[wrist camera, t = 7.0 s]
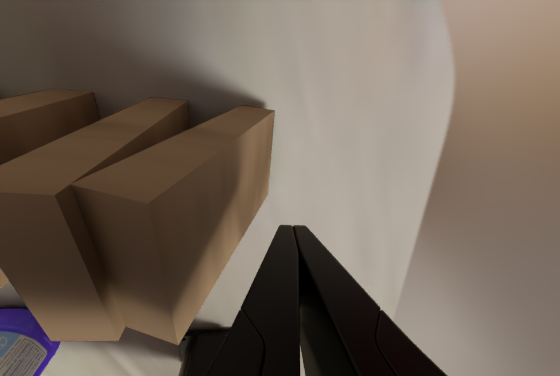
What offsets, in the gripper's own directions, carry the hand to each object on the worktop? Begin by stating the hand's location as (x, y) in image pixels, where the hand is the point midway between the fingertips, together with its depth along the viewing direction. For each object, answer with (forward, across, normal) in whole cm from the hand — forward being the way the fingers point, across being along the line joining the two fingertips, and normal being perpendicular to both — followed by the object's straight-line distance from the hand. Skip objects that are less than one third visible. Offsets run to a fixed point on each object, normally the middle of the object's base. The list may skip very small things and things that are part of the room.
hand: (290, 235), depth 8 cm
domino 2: (+7, +6, 0) cm, 9 cm away
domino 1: (+7, +1, 0) cm, 7 cm away
